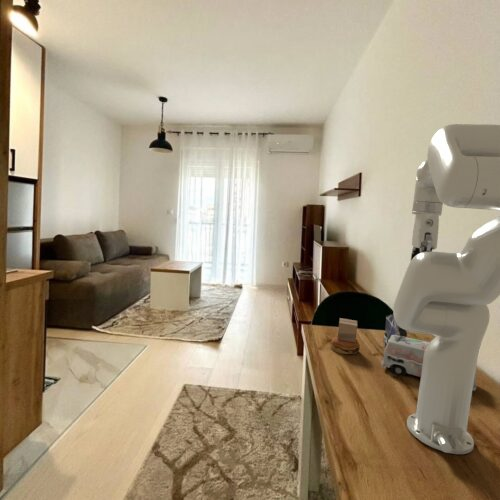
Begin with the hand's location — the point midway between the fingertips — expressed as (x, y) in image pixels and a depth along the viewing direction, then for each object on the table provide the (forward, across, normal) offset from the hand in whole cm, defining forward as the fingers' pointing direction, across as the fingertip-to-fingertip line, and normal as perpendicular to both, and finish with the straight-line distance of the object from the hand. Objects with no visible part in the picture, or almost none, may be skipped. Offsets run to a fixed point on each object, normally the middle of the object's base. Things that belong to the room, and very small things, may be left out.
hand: (419, 268), depth 95 cm
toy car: (+34, +3, -6) cm, 34 cm away
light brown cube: (+29, +13, +18) cm, 36 cm away
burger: (+34, +13, +18) cm, 40 cm away
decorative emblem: (+34, +20, +1) cm, 39 cm away
